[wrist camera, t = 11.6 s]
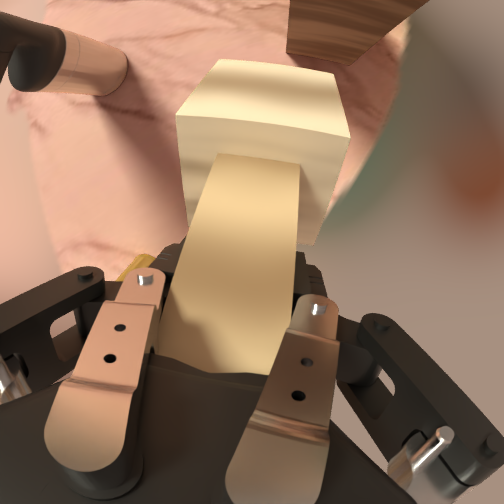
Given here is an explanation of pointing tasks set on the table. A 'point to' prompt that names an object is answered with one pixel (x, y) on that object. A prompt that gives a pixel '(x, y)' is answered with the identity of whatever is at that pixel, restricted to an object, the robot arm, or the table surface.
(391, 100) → the table surface
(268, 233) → the mallet
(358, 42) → the herringbone wood pillar
